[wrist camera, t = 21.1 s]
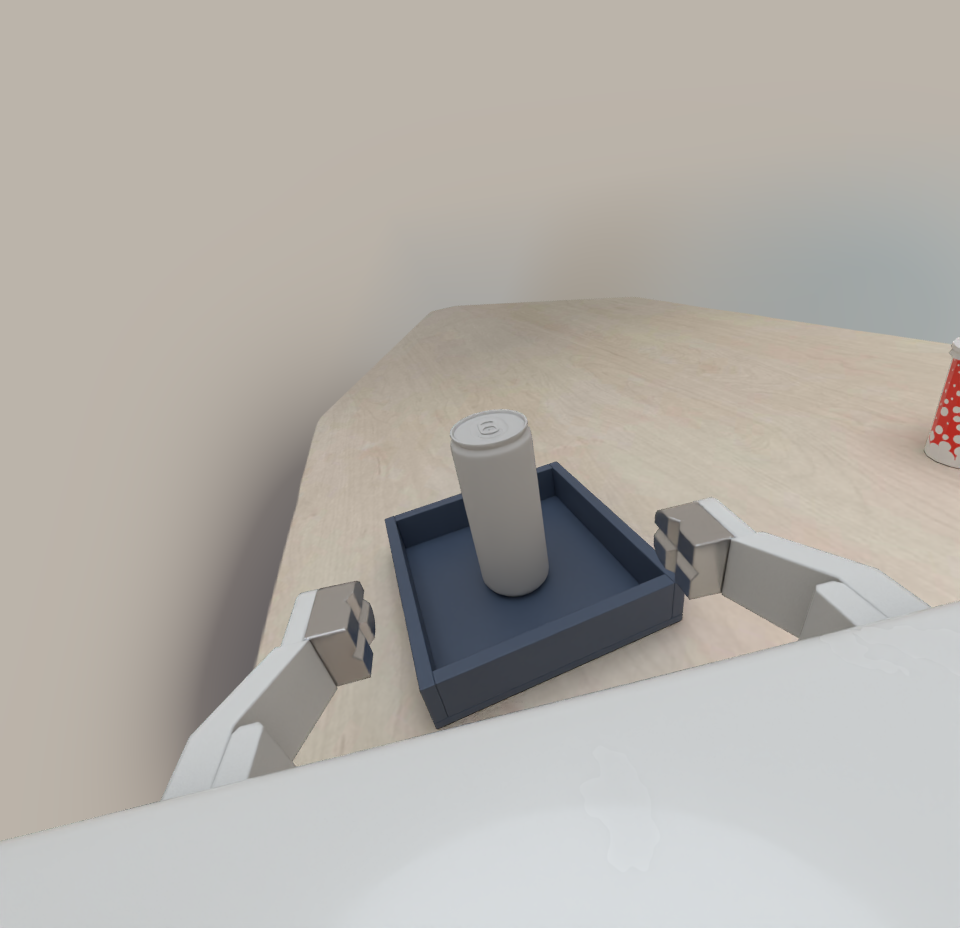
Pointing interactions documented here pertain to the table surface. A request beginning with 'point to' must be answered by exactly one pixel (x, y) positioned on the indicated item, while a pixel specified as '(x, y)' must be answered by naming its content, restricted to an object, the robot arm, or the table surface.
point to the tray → (523, 598)
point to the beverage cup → (947, 417)
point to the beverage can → (502, 499)
